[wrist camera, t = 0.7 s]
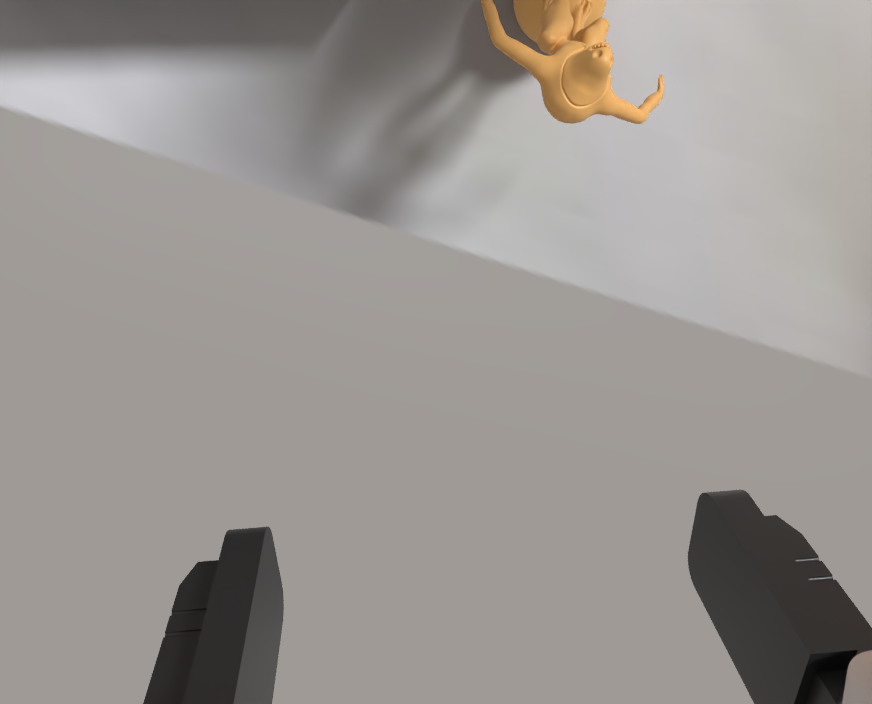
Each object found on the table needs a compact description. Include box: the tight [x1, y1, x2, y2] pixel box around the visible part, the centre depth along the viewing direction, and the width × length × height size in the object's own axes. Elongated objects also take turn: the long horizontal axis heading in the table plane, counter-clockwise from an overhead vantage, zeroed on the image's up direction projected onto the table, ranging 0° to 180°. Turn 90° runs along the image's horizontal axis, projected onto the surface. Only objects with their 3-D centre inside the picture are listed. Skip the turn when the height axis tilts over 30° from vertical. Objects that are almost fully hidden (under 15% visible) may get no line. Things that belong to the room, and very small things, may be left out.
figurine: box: [480, 0, 664, 124], centre depth 28 cm, size 8×6×12 cm
